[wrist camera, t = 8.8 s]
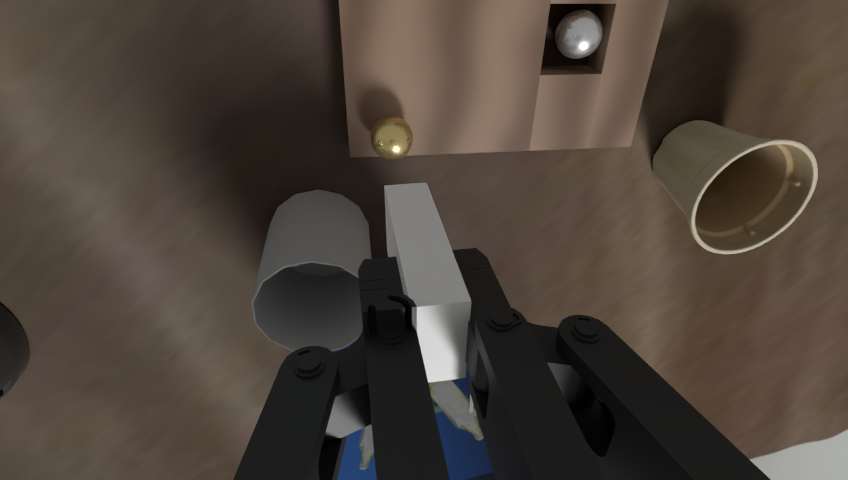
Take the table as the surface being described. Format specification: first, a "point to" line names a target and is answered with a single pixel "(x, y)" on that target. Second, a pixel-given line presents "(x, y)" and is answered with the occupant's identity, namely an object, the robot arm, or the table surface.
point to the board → (492, 74)
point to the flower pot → (734, 183)
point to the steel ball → (578, 34)
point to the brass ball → (391, 137)
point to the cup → (312, 272)
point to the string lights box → (456, 431)
